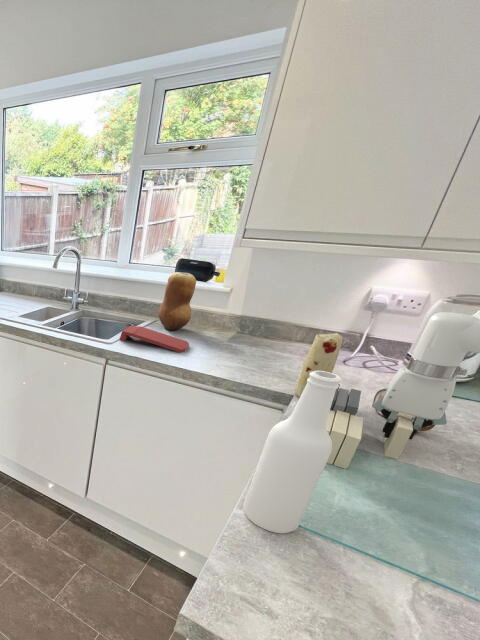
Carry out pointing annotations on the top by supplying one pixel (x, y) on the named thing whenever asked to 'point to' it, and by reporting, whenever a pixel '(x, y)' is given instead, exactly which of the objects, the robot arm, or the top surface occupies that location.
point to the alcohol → (293, 459)
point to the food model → (320, 357)
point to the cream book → (398, 436)
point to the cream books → (343, 437)
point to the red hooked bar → (154, 338)
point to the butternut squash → (177, 301)
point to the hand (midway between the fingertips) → (395, 437)
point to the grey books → (346, 401)
